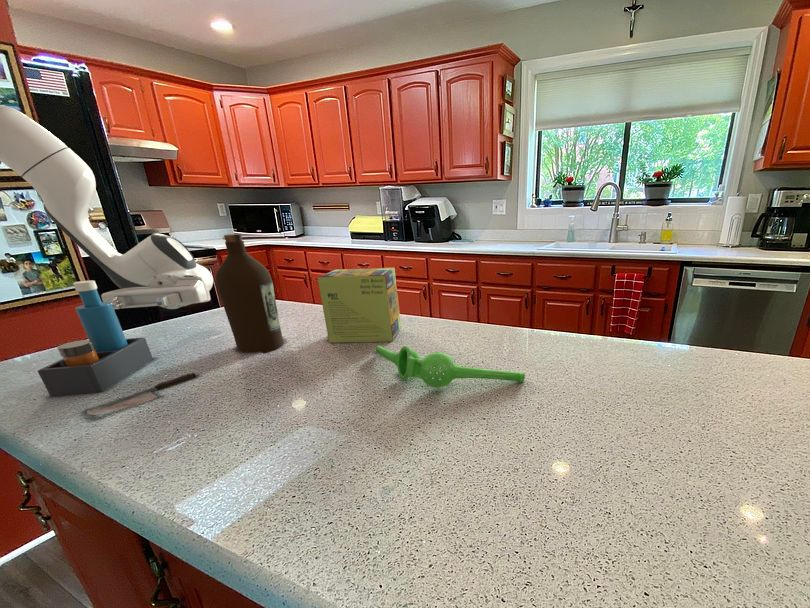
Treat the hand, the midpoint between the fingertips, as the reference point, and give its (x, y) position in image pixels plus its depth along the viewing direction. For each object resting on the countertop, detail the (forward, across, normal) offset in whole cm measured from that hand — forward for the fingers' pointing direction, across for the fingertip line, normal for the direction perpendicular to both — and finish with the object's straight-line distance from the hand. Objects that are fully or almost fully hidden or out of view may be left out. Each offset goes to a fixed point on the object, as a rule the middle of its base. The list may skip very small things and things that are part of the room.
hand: (136, 304), depth 87 cm
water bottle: (+12, 0, +10) cm, 16 cm away
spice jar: (+19, 0, +10) cm, 22 cm away
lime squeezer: (+29, +62, +12) cm, 69 cm away
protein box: (+1, +48, +12) cm, 49 cm away
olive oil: (+4, +24, +11) cm, 27 cm away
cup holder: (+15, 0, +11) cm, 19 cm away
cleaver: (+27, +14, +11) cm, 32 cm away
